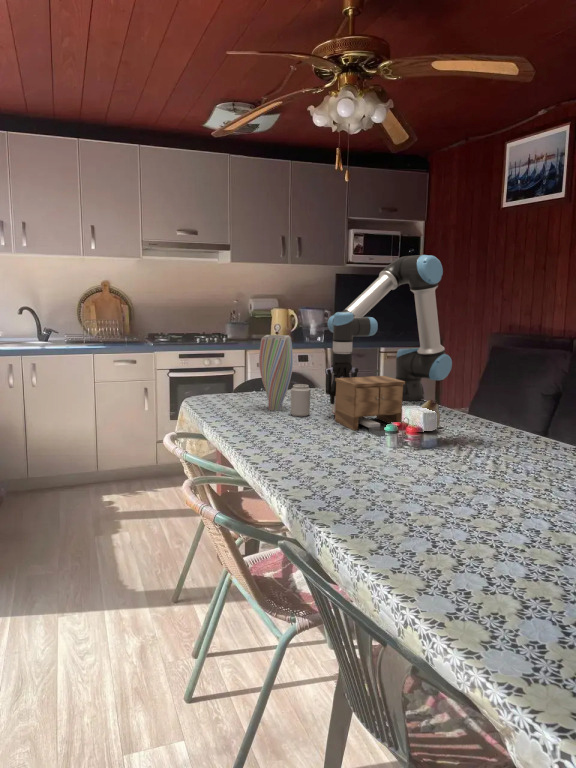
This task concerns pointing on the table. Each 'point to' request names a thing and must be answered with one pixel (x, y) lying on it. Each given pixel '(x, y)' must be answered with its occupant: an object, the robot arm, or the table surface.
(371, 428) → the token
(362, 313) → the robot arm
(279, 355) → the vase
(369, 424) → the orange upright piece
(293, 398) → the grey jar
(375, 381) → the cabinet
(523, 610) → the table surface
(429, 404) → the fruit
